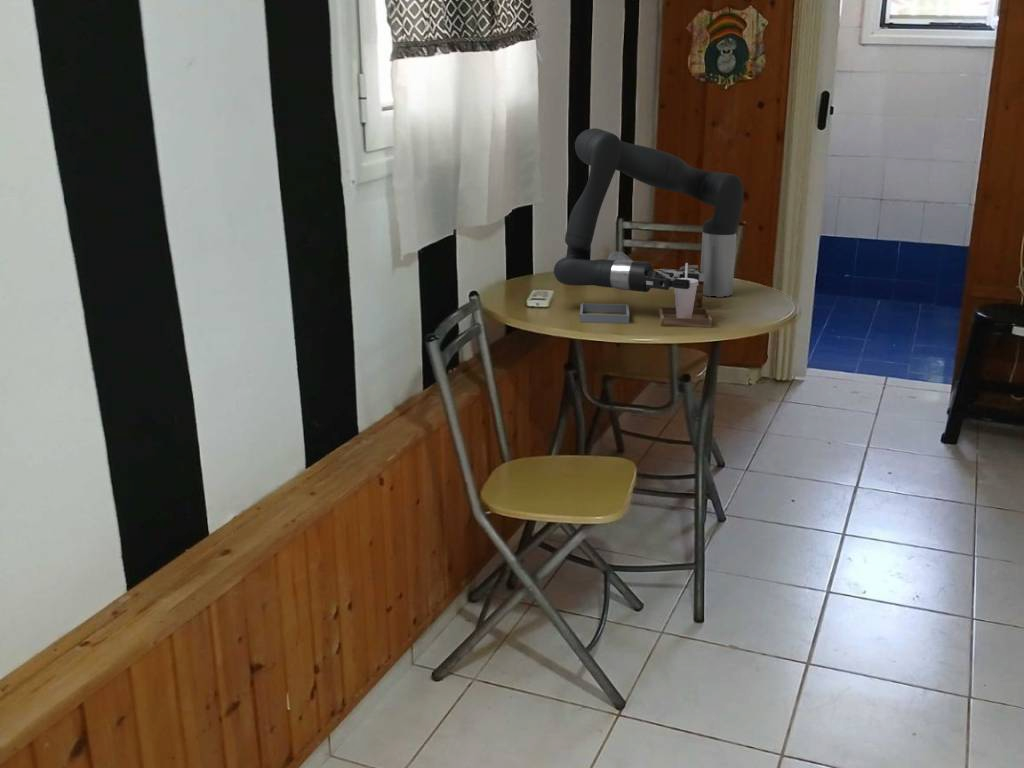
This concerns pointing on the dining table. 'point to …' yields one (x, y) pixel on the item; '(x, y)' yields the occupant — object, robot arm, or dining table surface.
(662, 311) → the walnut tray
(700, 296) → the food container
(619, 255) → the canned food
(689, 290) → the smoothie
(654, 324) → the dining table surface
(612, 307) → the grey square frame
